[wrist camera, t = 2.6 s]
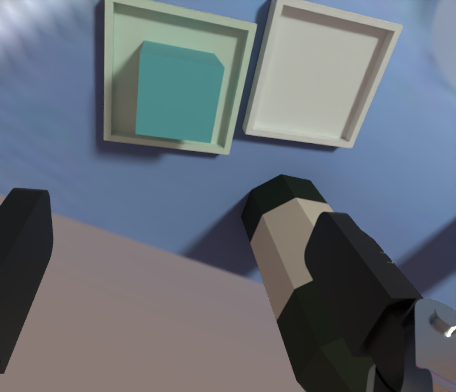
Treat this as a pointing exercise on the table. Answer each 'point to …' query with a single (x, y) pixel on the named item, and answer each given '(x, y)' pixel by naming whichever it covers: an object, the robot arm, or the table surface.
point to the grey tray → (317, 73)
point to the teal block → (177, 92)
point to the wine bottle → (299, 285)
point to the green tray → (176, 36)
